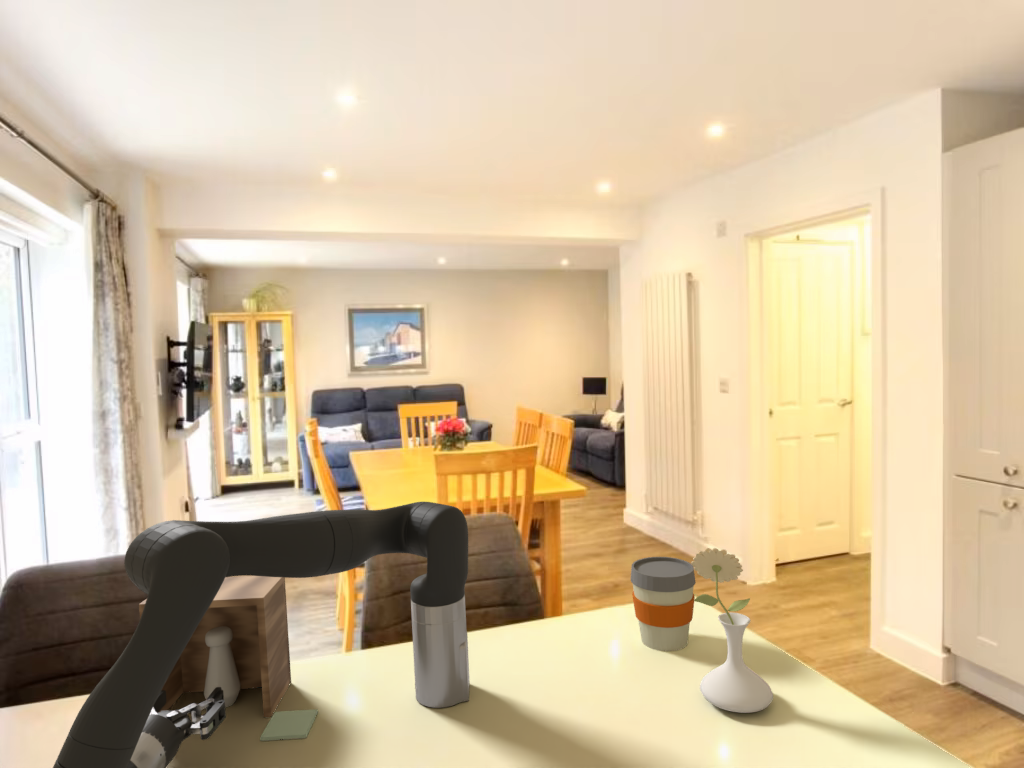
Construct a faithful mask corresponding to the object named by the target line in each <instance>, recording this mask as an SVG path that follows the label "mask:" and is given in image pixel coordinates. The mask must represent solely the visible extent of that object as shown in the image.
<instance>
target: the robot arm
mask: <svg viewBox="0 0 1024 768" xmlns="http://www.w3.org/2000/svg"><path fill="white" fill-rule="evenodd" d="M386 554H409V555H414V556H418V557H423V558H426V573H423V574H422V575H419V576H417V577H416V578H414V579H413V580H412V582H411V583H410V586H409V587H410V591H409V592H410V607H411V609H410V611H411V627H412V628H411V631H412V649H413V650H412V651H413V652H412V653H413V671H414V689H415V698H416V701H417V703H419V704H420V705H422V706H426V707H429V708H435V709H436V708H438V709H440V708H449V707H451V706H455V705H457V704H460V703H462V702H468V701H469V699H470V665H469V664H470V663H469V641H468V638H469V637H468V631H467V617H466V595H465V594H466V593H465V592H466V591H465V590H466V589H465V588H466V587H465V586H466V583H467V579H468V576H469V528H468V522H467V519H466V516H465V514H464V513H463V511H462V509H460V508H458V507H456V506H453V505H448V504H445V503H444V504H442V503H437V502H432V501H416V502H412V503H407V504H402V505H397V506H393V507H389V508H384V509H382V508H381V509H329V510H319V511H317V510H316V511H308V512H301V513H300V512H299V513H289V514H284V515H282V514H281V515H277V516H269V517H263V518H257V519H251V520H250V519H249V520H242V521H241V520H240V521H239V520H238V521H205V520H204V521H200V520H199V521H197V520H180V519H178V520H177V519H176V520H175V519H173V520H166V521H162V522H158V523H156V524H153V525H151V526H149V527H147V528H146V529H145V530H143V531H141V532H140V533H139V534H138V535H137V536H136V537H135V538H133V540H132V542H131V543H130V544H129V546H128V548H127V550H126V552H125V555H124V568H125V569H124V570H125V572H126V575H127V577H128V578H129V580H130V581H131V583H132V584H134V586H136V587H137V588H138V590H140V591H141V592H143V593H144V594H146V595H147V597H146V599H147V600H146V599H145V600H146V603H145V606H144V609H143V612H142V615H141V618H140V617H139V621H138V624H137V626H136V628H135V630H134V632H133V635H132V636H131V638H130V640H129V641H128V644H126V647H125V648H124V650H123V651H122V653H121V654H120V656H119V657H118V658H117V660H116V661H115V663H114V664H113V665H112V666H111V668H110V669H109V670H108V671H107V672H106V674H104V676H103V677H102V678H101V679H100V681H99V682H98V683H97V684H96V686H95V687H94V688H93V689H92V691H91V692H90V693H89V695H88V697H86V699H85V701H84V702H83V704H82V706H81V708H80V709H79V711H78V713H77V715H76V716H75V719H74V721H73V723H72V725H71V726H70V729H69V731H68V734H67V736H66V738H65V740H64V742H63V745H62V746H61V749H60V751H59V753H58V755H57V758H56V760H55V762H54V764H53V767H52V768H167V767H168V766H169V764H170V763H171V762H172V760H173V759H174V758H175V757H176V755H177V754H178V751H179V749H180V747H181V744H182V743H183V741H185V740H186V739H187V738H189V737H191V735H200V740H203V741H204V740H208V739H209V738H210V737H211V736H212V735H213V734H214V732H215V731H216V730H217V729H218V728H219V726H220V725H221V724H222V723H223V721H224V720H225V718H227V715H226V708H225V700H224V694H223V690H222V688H221V687H216V688H215V689H214V690H213V692H212V693H211V694H210V695H209V697H208V698H207V700H206V699H205V700H204V701H201V702H200V703H196V702H193V703H190V704H188V705H186V706H184V707H182V708H180V709H175V710H169V709H168V710H165V711H161V712H159V711H160V710H161V708H162V707H163V706H164V705H165V704H166V691H165V690H162V688H163V686H164V684H165V682H166V681H167V679H168V677H169V675H170V673H171V671H172V670H173V668H174V666H175V664H176V663H177V661H178V659H179V657H180V656H181V654H182V652H183V650H184V649H185V647H186V645H187V643H188V642H189V640H190V638H191V637H192V635H193V633H194V631H195V630H196V628H197V626H198V624H199V623H200V621H201V619H202V618H203V616H204V614H205V613H206V611H207V610H208V608H209V606H210V605H211V603H212V601H213V600H214V598H215V596H216V594H217V593H218V591H219V589H220V587H221V585H222V583H223V581H224V579H225V577H240V576H266V577H284V578H285V579H287V578H288V579H305V578H317V577H322V576H328V575H333V574H334V575H335V574H339V573H344V572H349V571H351V570H353V569H356V568H358V567H359V566H361V565H362V564H364V563H365V562H367V561H368V560H369V559H370V558H373V557H376V556H379V555H386ZM204 709H205V712H206V713H204V714H202V710H204ZM190 713H191V718H190V716H189V714H190Z"/></svg>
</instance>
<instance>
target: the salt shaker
mask: <svg viewBox="0 0 1024 768" xmlns="http://www.w3.org/2000/svg"><path fill="white" fill-rule="evenodd" d="M232 638H233V633H232V630H231V629H230V628H229V627H226V626H220V627H216V628H213V629H211V630H209V631H208V632H207V633H206V635H205V643H206V645H207V646H208V647H210V652H209V660H208V667H207V674H206V681H205V688H204V691H203V696H204V698H205V700H207V698H208V697H209V695H210V694H211V693H212V692H213V690H214V689H215V688H216V687H221V688H222V690H223V694H224V700H225V709H227V708H228V707H231V706H233V705H234V704H235V702H236V700H237V698H238V696H239V693H240V691H241V689H240V687H241V684H240V680H239V676H238V672H237V669H236V665H235V661H234V657H233V654H232V650H231V646H230V642H231V640H232Z"/></svg>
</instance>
